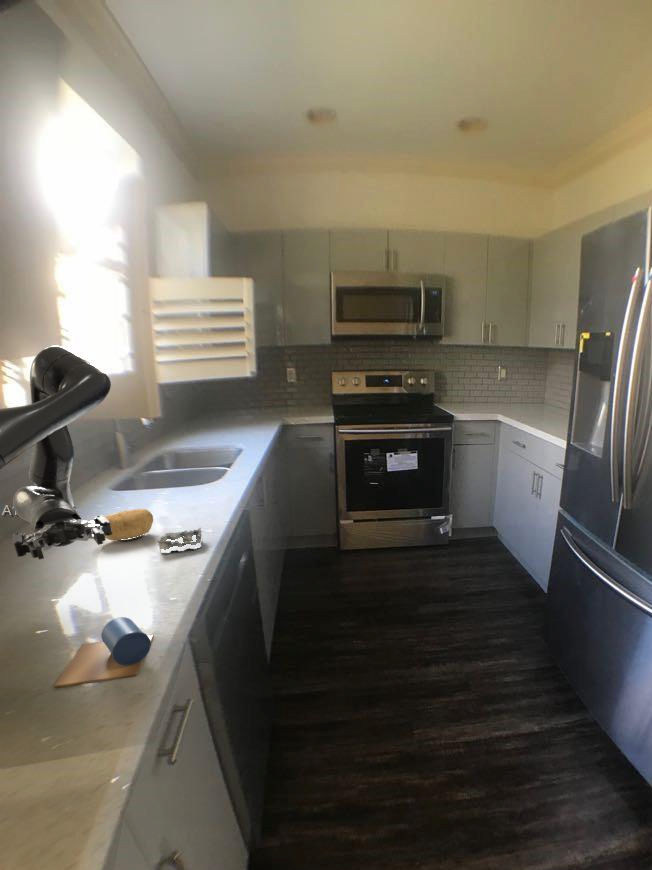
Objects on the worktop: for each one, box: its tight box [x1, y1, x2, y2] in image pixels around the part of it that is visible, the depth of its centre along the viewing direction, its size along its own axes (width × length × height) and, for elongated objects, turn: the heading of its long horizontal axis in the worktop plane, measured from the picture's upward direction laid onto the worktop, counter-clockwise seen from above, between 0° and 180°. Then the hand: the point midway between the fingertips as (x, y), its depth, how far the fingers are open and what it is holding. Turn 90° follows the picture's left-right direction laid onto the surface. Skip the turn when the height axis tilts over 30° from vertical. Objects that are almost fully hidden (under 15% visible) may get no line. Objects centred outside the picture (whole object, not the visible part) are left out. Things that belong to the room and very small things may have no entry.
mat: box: [54, 634, 155, 689], centre depth 78 cm, size 12×11×1 cm
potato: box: [104, 508, 154, 541], centre depth 127 cm, size 10×14×8 cm
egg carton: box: [157, 527, 203, 550], centre depth 121 cm, size 11×8×4 cm
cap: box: [100, 616, 152, 666], centre depth 78 cm, size 6×6×8 cm
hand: (70, 546), depth 77 cm, fingers open, 8 cm apart
